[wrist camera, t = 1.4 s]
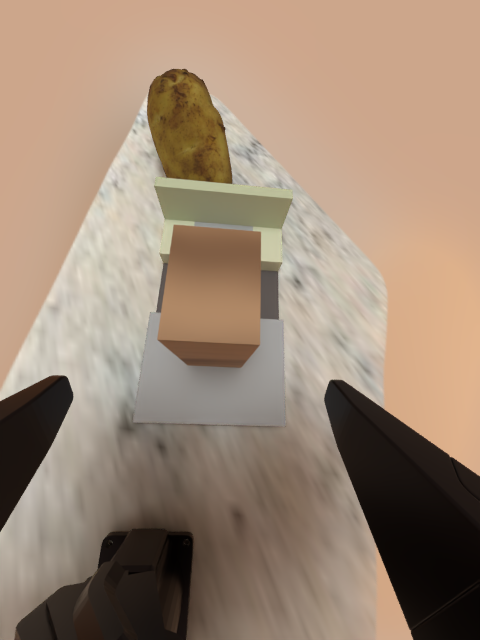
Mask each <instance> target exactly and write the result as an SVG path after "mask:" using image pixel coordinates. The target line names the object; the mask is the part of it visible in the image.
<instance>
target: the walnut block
mask: <svg viewBox="0 0 480 640" xmlns="http://www.w3.org/2000/svg"><path fill="white" fill-rule="evenodd" d="M260 303H261V232H259V231H247V230H235V229H222V228H210V227H198V226H186V225H174V226H173V233H172V240H171V247H170V254H169V261H168V268H167V275H166V282H165V289H164V295H163V302H162V309H161V316H160V323H159V330H158V337H157V340H158V341H159V342H160V343H162V344H163V345H164V346H165V347H166V348H168V349H169V350H170V351H171V352H172V353H173V354H175V355H176V356H177V357H178V358H179V359H181V360H182V361H183V362H184V363H185V364H187V365H188V366H211V367H234V368H241V367H242V366H243V365H244V364H245V363H246V361H247V360H248V359H249V358H250V357H251V355H252V354H253V353H254V352H255V350H256V349H257V348H258V347H259V346H260Z"/></svg>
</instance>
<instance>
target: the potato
mask: <svg viewBox="0 0 480 640" xmlns="http://www.w3.org/2000/svg"><path fill="white" fill-rule="evenodd" d="M147 116H148V123H149V127H150V130H151V134H152V138H153V141H154V144H155V147H156V150H157V153H158V155H159V157H160V160H161V162H162V165H163V168H164V171H165V174H166V176H167V178H173V179H184V180H194V181H205V182H215V183H226V184H232V171H231V164H230V158H229V151H228V146H227V140H226V135H225V127H224V125H223V121H222V118H221V116H220V114H219V112H218V111H217V109H216V108H215V107H214V106H213V104H212V101H211V97H210V95H209V92H208V90H207V87H206V85H205V83H204V81H203V80H201V79H200V78H198V77H197V76H196V75H195V74H193V73H189V72H188V71H187V70H186V69H182V70H181V69H172V70H169V71H167V72H165V73H164V74H162V75H161V76H157V77H156V78H155V79H154V81H153V82H152V84H151V86H150V89H149V94H148V105H147Z"/></svg>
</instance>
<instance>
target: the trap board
mask: <svg viewBox="0 0 480 640" xmlns="http://www.w3.org/2000/svg"><path fill="white" fill-rule="evenodd" d="M154 187H155V190H156V193H157V196H158V199H159V202H160V205H161V209H162V212H163V215H164V218H165V221H164V228H163V234H162V240H161V246H160V253H159V254H160V256H161V258H162V260H163V263H164V264H163V271H162V278H161V284H160V291H159V298H158V304H157V311H156V312H150V316H149V322H148V328H147V335H146V341H145V347H144V353H143V360H142V366H141V372H140V379H139V385H138V391H137V397H136V404H135V410H134V416H133V422H137V423H173V424H209V425H245V426H281V427H286V419H285V371H284V324H283V320H279V308H278V270H279V268H280V266H281V264H282V230H281V229H282V226H283V223H284V221H285V218H286V215H287V213H288V210H289V207H290V205H291V202H292V199H293V194H292V190H288V189H278V188H268V187H257V186H247V185H236V184H226V183H215V182H205V181H194V180H184V179H173V178H163V177H156V179H155V185H154ZM174 225H186V226H198V227H210V228H222V229H235V230H247V231H259V232H261V303H260V346H259V347H258V348H257V349H256V350H255V352H254V353H253V354H252V355H251V357H250V358H249V359H248V360H247V361H246V363H245V364H244V365H243V366H242V367H241V368H234V367H211V366H188V365H187V364H185V363H184V362H183V361H182V360H181V359H179V358H178V357H177V356H176V355H175V354H173V353H172V352H171V351H170V350H169V349H168V348H166V347H165V346H164V345H163V344H162V343H160V342H159V341H158V340H157V337H158V330H159V323H160V316H161V309H162V302H163V295H164V289H165V282H166V275H167V268H168V261H169V254H170V247H171V240H172V233H173V226H174Z"/></svg>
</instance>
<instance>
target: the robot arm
mask: <svg viewBox="0 0 480 640" xmlns="http://www.w3.org/2000/svg"><path fill="white" fill-rule="evenodd" d="M72 401H73V392H72V389H71V386H70V383H69V380H68V378H67V377H66V376H62V375H53V376H49V377H47V378H45V379H43V380H41V381H39V382H38V383H36V384H34V385H32V386H30V387H28V388H26V389H24V390H22V391H20V392H18V393H16V394H14V395H12V396H10V397H8V398H6V399H4V400H2V401H0V532H1V530H2V528H3V527H4V525H5V523H6V522H7V520H8V518H9V516H10V515H11V513H12V511H13V510H14V508H15V506H16V505H17V503H18V501H19V500H20V498H21V496H22V495H23V493H24V491H25V490H26V488H27V486H28V484H29V483H30V481H31V479H32V478H33V476H34V474H35V473H36V471H37V469H38V468H39V466H40V464H41V463H42V461H43V459H44V458H45V456H46V454H47V452H48V451H49V449H50V447H51V445H52V443H53V441H54V439H55V437H56V435H57V433H58V431H59V429H60V427H61V424H62V422H63V420H64V418H65V416H66V414H67V412H68V409H69V407H70V405H71V403H72ZM324 401H325V405H326V409H327V413H328V416H329V420H330V423H331V427H332V430H333V434H334V437H335V441H336V444H337V447H338V449H339V452H340V455H341V457H342V460H343V462H344V465H345V467H346V470H347V472H348V475H349V477H350V480H351V482H352V485H353V487H354V490H355V492H356V495H357V498H358V500H359V503H360V505H361V508H362V510H363V513H364V515H365V518H366V520H367V523H368V525H369V528H370V530H371V533H372V535H373V538H374V541H375V543H376V546H377V548H378V551H379V553H380V556H381V558H382V561H383V563H384V566H385V568H386V571H387V573H388V576H389V578H390V581H391V583H392V586H393V588H394V591H395V593H396V596H397V599H398V601H399V604H400V606H401V609H402V611H403V614H404V616H405V619H406V621H407V624H408V627H409V629H410V630H411V635H412V637H413V640H480V476H478V475H477V474H476V473H474V472H472V471H471V470H470V469H468V468H467V467H465V466H464V465H462V464H461V463H460V462H458V461H457V460H455V459H454V458H452V457H450V456H449V455H448V454H447V453H445V452H444V451H443V450H441V449H440V448H438V447H437V446H435V445H434V444H433V443H431V442H430V441H428V440H427V439H426V438H424V437H423V436H421V435H419V434H418V433H417V432H415V431H414V430H413V429H411V428H410V427H408V426H407V425H406V424H404V423H403V422H401V421H400V420H398V419H397V418H396V417H394V416H393V415H391V414H390V413H388V412H387V411H386V410H384V409H383V408H381V407H380V406H379V405H377V404H376V403H374V402H373V401H372V400H370V399H369V398H367V397H366V396H364V395H363V394H362V393H360V392H359V391H357V390H356V389H354V388H353V387H352V386H350V385H349V384H347V383H346V382H345V381H343V380H330V382H329V384H328V387H327V390H326V394H325V398H324ZM186 539H188V540H189V541H190V543H189V544H187V545H186V544H185V543H184V540H186ZM108 540H112V542H113V544H112V545H109V544H108ZM193 543H194V538H193V535H192V534H191V533H189V532H168V531H167V530H166V529H132V530H131V531H130V532H112V533H109V534H108V535H107V536H106V537H105V539H104V540H103V542H102V546H101V552H100V558H99V564H98V569H97V572H96V573H95V574H94V575H93V576H91V577H89V578H88V579H87V580H86V581H85V582H84V583H80V584H74V585H69V586H64V587H62V588H60V589H59V590H57V591H56V592H55V593H54V594H52V595H51V596H50V597H49V598H48V599H46V600H45V601H44V602H43V603H42V604H40V605H39V606H38V607H37V608H36V609H34V610H33V611H32V612H31V613H30V614H28V615H27V616H26V617H25V618H23V619H22V620H21V621H20V622H19V623H18V625H17V627H16V632H15V640H186V635H187V622H188V609H189V596H190V583H191V569H192V556H193Z"/></svg>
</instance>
